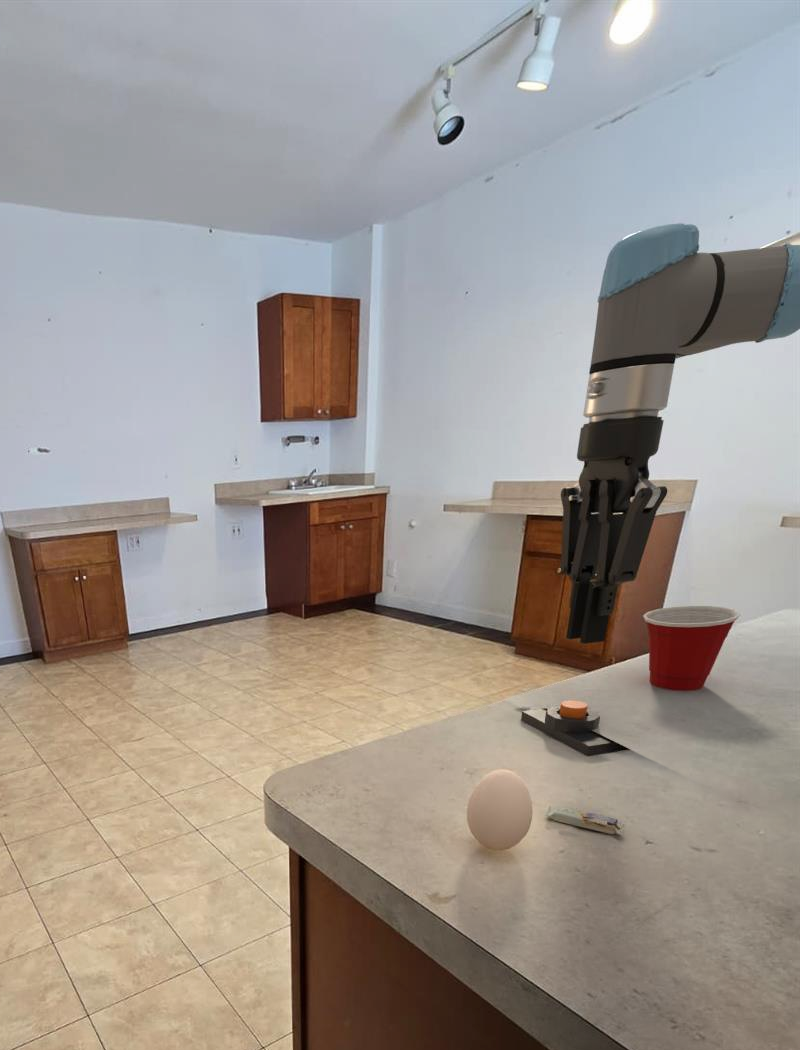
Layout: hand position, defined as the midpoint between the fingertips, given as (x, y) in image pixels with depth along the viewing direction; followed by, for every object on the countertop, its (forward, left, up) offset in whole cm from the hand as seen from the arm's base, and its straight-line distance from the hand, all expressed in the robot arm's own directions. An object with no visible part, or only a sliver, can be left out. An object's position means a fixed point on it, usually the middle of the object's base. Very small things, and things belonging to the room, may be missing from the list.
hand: (585, 639), depth 77 cm
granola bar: (+14, +20, -13) cm, 27 cm away
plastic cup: (-22, -8, -13) cm, 27 cm away
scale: (-6, 0, -12) cm, 14 cm away
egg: (+24, +21, -13) cm, 34 cm away
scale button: (0, 0, -10) cm, 10 cm away
